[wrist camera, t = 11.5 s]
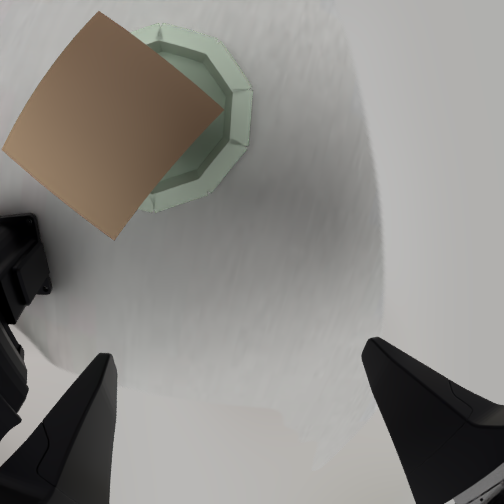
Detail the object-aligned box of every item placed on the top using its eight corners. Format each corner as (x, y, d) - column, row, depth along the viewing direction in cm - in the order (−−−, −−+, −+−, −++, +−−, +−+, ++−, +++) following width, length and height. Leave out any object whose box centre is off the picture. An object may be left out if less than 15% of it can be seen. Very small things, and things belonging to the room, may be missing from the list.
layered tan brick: (159, 157, 16) (114, 240, 6) (116, 122, 15) (1, 149, 4) (199, 112, 16) (224, 109, 5) (155, 76, 14) (99, 10, 4)
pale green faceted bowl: (88, 198, 17) (71, 217, 14) (89, 46, 13) (70, 34, 10) (234, 194, 19) (243, 211, 16) (245, 41, 15) (258, 27, 12)
